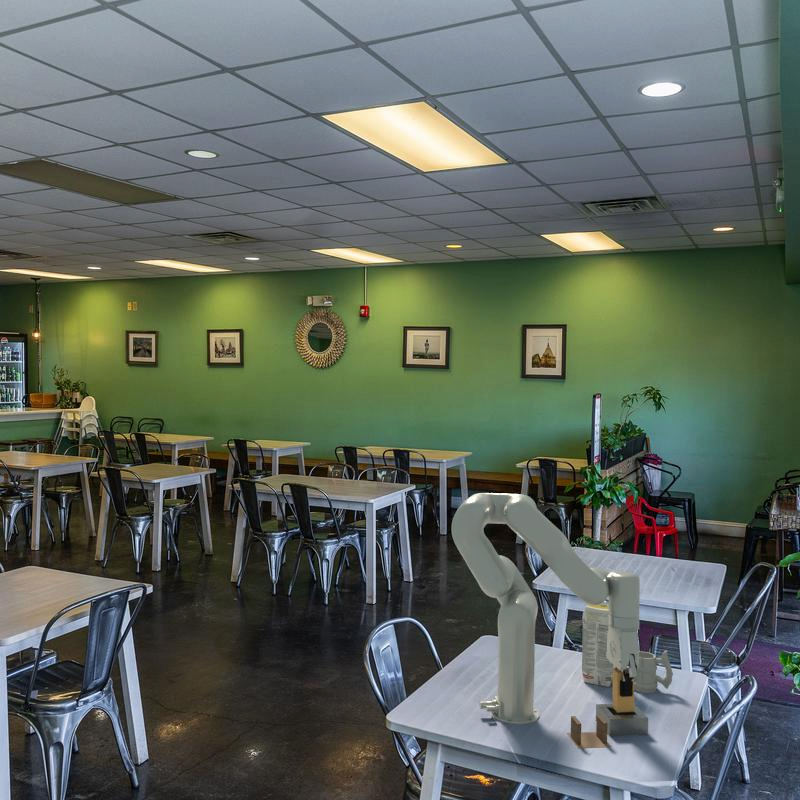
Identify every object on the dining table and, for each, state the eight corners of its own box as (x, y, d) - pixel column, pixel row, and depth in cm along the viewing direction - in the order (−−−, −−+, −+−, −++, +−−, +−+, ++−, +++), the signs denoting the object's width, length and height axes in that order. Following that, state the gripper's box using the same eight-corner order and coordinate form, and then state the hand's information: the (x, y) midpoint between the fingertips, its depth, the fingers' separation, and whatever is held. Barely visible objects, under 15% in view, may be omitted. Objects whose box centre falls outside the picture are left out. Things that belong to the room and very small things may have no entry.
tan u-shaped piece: (578, 751, 177) (578, 727, 177) (566, 736, 185) (567, 713, 185) (611, 750, 178) (612, 726, 178) (598, 735, 186) (599, 712, 186)
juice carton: (618, 680, 223) (619, 601, 223) (611, 689, 216) (612, 607, 216) (587, 674, 228) (589, 596, 227) (579, 682, 221) (581, 602, 221)
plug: (617, 712, 187) (617, 672, 187) (612, 707, 190) (612, 668, 190) (633, 711, 188) (634, 672, 188) (628, 706, 191) (629, 667, 191)
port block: (609, 739, 184) (610, 719, 184) (595, 723, 193) (596, 704, 193) (647, 737, 185) (648, 718, 185) (632, 722, 194) (632, 703, 194)
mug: (631, 681, 222) (631, 641, 222) (673, 688, 218) (673, 647, 218) (628, 691, 215) (629, 649, 215) (671, 698, 211) (672, 656, 211)
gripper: (597, 612, 197) (596, 681, 197) (623, 631, 180) (622, 707, 180) (624, 611, 198) (623, 680, 198) (652, 630, 181) (651, 705, 181)
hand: (623, 692), depth 189 cm, fingers closed on plug, 3 cm apart
